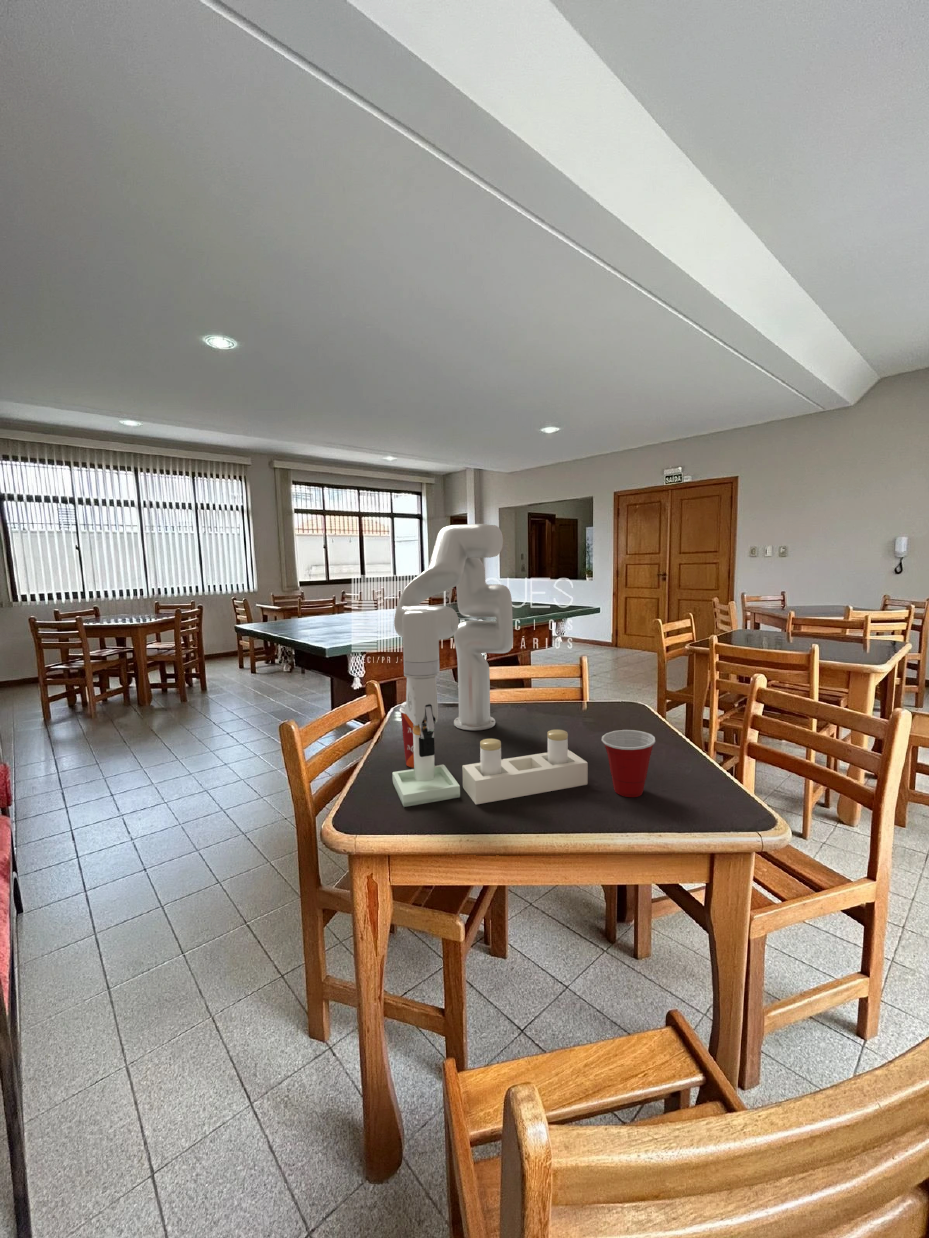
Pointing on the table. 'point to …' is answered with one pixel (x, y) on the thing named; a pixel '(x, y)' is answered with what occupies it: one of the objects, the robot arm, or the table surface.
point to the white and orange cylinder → (422, 760)
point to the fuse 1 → (490, 757)
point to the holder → (524, 777)
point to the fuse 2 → (557, 747)
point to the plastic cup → (628, 760)
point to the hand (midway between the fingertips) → (424, 750)
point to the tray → (425, 787)
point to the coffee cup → (407, 736)
